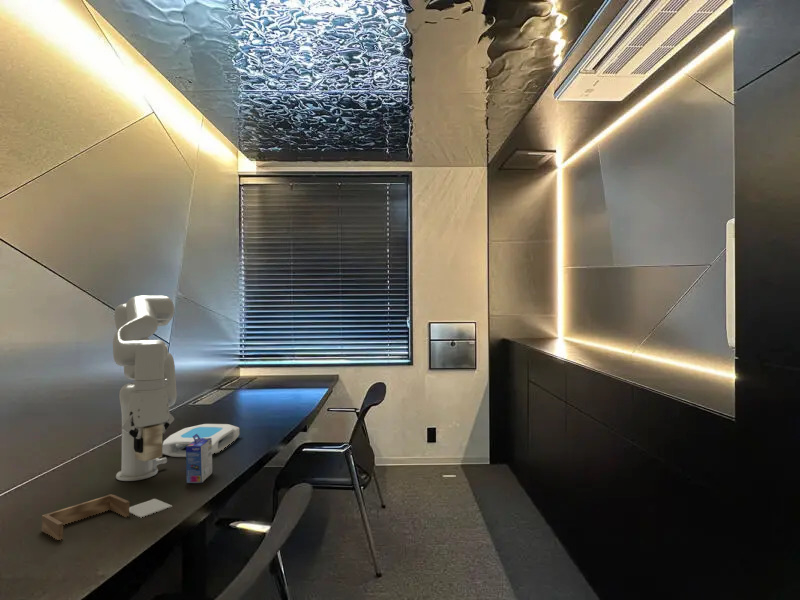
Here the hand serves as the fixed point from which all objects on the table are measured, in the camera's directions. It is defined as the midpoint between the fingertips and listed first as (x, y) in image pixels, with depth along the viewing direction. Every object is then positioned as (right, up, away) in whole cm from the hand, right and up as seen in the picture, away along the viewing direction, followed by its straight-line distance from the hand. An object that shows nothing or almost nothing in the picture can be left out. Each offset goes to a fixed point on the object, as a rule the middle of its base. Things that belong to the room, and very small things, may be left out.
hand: (148, 448), depth 137 cm
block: (0, -3, 0) cm, 3 cm away
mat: (0, -17, 0) cm, 17 cm away
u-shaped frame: (-11, -17, -10) cm, 22 cm away
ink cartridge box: (+4, -18, +25) cm, 31 cm away
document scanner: (-10, -19, +61) cm, 65 cm away
